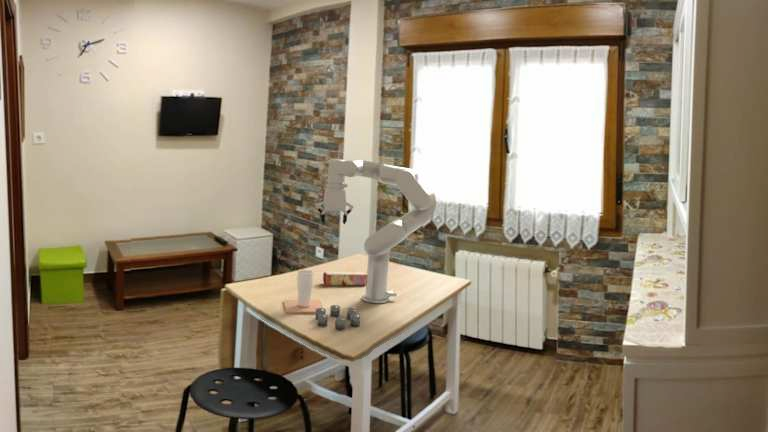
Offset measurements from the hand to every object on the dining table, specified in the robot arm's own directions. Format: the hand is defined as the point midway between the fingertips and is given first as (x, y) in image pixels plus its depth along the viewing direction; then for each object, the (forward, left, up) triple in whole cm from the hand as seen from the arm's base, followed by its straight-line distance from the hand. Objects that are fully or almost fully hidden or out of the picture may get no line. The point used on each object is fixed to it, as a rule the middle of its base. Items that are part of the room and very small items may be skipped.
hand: (333, 223), depth 277 cm
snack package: (-10, -14, -34) cm, 38 cm away
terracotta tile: (+14, +22, -33) cm, 42 cm away
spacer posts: (+2, +40, -33) cm, 52 cm away
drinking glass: (+14, +22, -32) cm, 42 cm away
